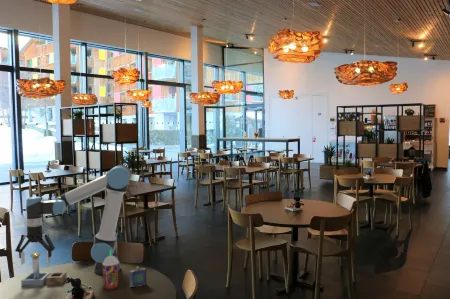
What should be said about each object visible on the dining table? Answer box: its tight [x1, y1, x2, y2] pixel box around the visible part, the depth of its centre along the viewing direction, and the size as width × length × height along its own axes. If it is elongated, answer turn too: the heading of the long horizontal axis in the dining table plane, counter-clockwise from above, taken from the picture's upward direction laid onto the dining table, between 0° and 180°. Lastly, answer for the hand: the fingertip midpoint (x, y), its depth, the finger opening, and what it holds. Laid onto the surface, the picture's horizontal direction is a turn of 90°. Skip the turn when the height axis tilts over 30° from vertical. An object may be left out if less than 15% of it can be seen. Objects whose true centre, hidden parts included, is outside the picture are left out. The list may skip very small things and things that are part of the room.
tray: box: [20, 272, 51, 288], centre depth 212 cm, size 11×11×4 cm
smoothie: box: [102, 251, 120, 291], centre depth 204 cm, size 8×8×20 cm
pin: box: [30, 252, 41, 279], centre depth 212 cm, size 5×5×15 cm
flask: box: [128, 265, 147, 288], centre depth 206 cm, size 9×3×11 cm, turn 121°
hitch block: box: [45, 271, 67, 286], centre depth 213 cm, size 8×8×4 cm
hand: (35, 263), depth 212 cm, fingers open, 13 cm apart
